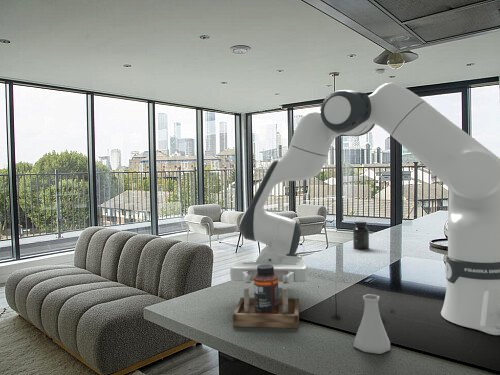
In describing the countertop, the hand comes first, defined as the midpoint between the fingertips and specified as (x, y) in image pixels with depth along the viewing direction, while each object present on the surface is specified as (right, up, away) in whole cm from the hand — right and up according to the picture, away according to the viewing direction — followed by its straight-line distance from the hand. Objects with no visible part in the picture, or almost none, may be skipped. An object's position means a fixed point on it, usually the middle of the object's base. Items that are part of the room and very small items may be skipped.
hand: (266, 280), depth 93 cm
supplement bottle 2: (+46, -5, +80) cm, 92 cm away
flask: (+20, -9, -17) cm, 28 cm away
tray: (0, -9, -1) cm, 9 cm away
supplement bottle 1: (0, -8, -1) cm, 8 cm away
